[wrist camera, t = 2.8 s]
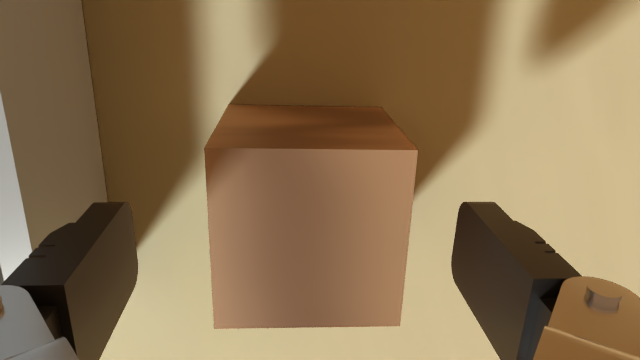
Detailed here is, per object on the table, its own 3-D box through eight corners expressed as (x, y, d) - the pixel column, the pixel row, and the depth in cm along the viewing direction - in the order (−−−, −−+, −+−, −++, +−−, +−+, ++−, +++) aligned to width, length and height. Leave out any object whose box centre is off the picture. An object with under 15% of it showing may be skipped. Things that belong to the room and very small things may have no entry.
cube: (381, 106, 16) (417, 150, 12) (371, 241, 18) (399, 325, 13) (228, 103, 16) (204, 147, 11) (233, 240, 18) (214, 328, 13)
